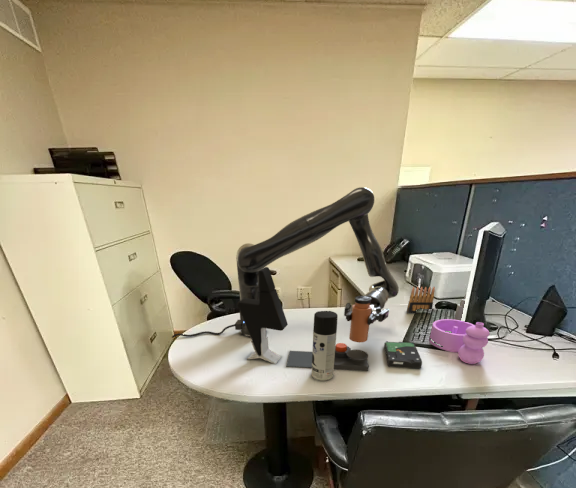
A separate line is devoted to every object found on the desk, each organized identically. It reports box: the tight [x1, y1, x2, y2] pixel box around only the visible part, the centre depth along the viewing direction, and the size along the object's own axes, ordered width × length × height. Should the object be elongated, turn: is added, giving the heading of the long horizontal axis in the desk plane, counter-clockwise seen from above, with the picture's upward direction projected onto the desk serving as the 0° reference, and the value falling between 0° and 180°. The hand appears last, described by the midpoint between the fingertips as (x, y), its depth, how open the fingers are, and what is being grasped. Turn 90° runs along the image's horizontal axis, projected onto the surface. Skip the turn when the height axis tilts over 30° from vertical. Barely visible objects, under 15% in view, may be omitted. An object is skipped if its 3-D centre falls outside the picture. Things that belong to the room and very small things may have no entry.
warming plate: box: [346, 349, 369, 360], centre depth 105 cm, size 7×7×1 cm
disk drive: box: [383, 340, 423, 369], centre depth 110 cm, size 10×3×15 cm
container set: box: [428, 318, 490, 365], centre depth 113 cm, size 25×15×13 cm, turn 179°
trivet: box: [286, 350, 313, 369], centre depth 109 cm, size 11×11×1 cm
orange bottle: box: [348, 295, 372, 343], centre depth 99 cm, size 6×6×13 cm
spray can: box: [311, 310, 338, 382], centre depth 96 cm, size 7×7×20 cm
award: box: [236, 266, 288, 365], centre depth 103 cm, size 15×5×30 cm, turn 71°
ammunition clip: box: [406, 286, 436, 314], centre depth 145 cm, size 11×2×12 cm, turn 89°
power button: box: [336, 342, 348, 352], centre depth 108 cm, size 4×4×2 cm
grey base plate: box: [334, 345, 370, 372], centre depth 107 cm, size 14×11×4 cm
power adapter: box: [453, 293, 467, 321], centre depth 135 cm, size 3×5×12 cm, turn 81°
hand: (358, 319), depth 96 cm, fingers closed on orange bottle, 5 cm apart
